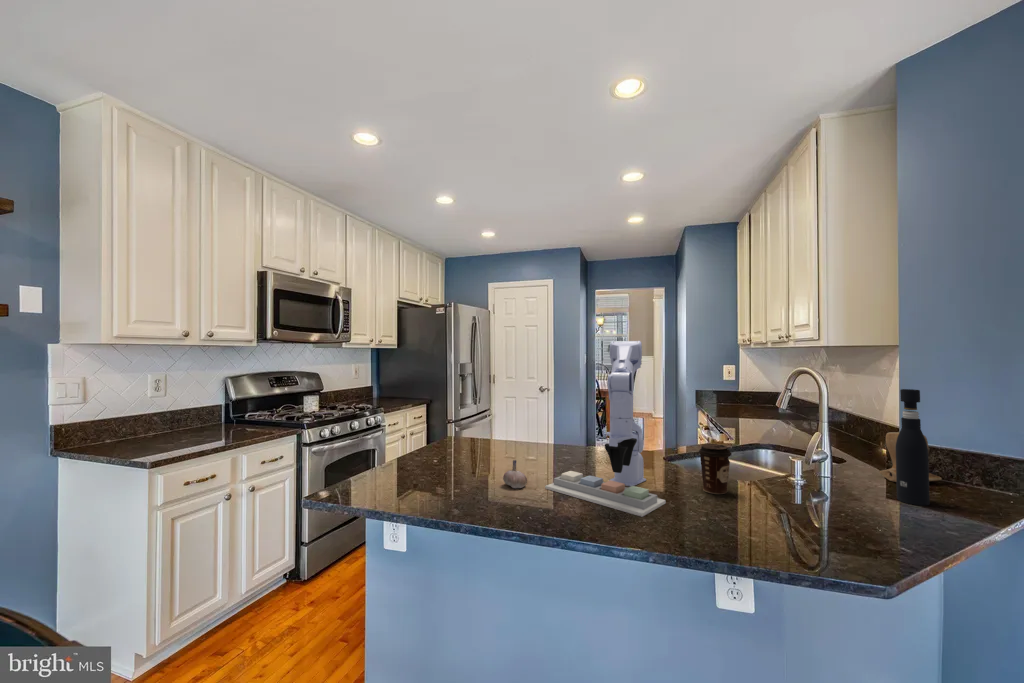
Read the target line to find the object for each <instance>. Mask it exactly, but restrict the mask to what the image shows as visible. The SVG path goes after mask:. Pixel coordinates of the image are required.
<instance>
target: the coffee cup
mask: <svg viewBox="0 0 1024 683" xmlns="http://www.w3.org/2000/svg"><path fill="white" fill-rule="evenodd" d="M698 454H699V456H700V467H701V478H702V490H703V492H706V493H709V494H714V495H723V494H727V493H728V482H729V476H730V465H731V461H730V459H729V457H731V456H732V452H731V450H730V449H729V447H728V446H726V445H724V444H717V443H716V444H715V443H706V444H702V445H701V448H700V449H699V450H698Z"/></svg>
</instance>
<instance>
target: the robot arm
mask: <svg viewBox="0 0 1024 683" xmlns="http://www.w3.org/2000/svg"><path fill="white" fill-rule="evenodd" d="M642 348H643V346H642V341H641V340H624V341H623V340H619V341H617V340H611V341H610V343H609V358H610V359H609V360H610V364H611V371H610V373H608V374H607V390H608V400H609V431H607V432H605V436H608V437H609V438H608V443H605V444H604V450H605V451H606V452H607V455H608V457H609V463H610V465H611V469H612V472H613V473H614V477H613V478H611V479H608V481H610V480H611V481H615V482H619V483H624V484H625V487H631V486H638V485H639V484H641V483H644V482H646V481H647V478H644V472H645V471H644V470H645V469H644V457H643V455H642V454H641V453H642V452H643V447H644V444H643V441H644V440H643V439H644V438H643V429H642V427H641V425H639V424H638V423H637V422H635V421H634V386H635V384H634V382H635V381H634V377H635V376H634V375H635V372H636V370H638V369H641V368H642V367H641V366H642V361H643V360H642V359H643V357H642V356H643V350H642Z"/></svg>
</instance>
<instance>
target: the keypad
mask: <svg viewBox="0 0 1024 683" xmlns="http://www.w3.org/2000/svg"><path fill="white" fill-rule="evenodd" d="M584 477H585V476H583V478H584ZM605 482H606V481H603V483H605ZM627 488H628V487H627V486H625V489H627ZM544 489H546V490H549V491H553V492H556V493H560V494H563V495H567V496H570V497H574V498H577V499H580V500H583V501H587V502H589V503H594V504H597V505H600V506H604V507H608V508H611V509H615V510H618V511H620V512H625V513H627V514H631V515H635V516H638V517H642V518H643V517H645V516H646V515H648V514H650V513H651V512H653V511H655V510H656V509H659V508H660V507H662V506H664V505H665V504H667V503H666V499H663V498H660V497H658V495H657V494H655V493H650V492H649V497H647V498H645V499H643V500H639V499H635V498H632V497H628V496H624V491H623V492H621V493H618V494H616V493H613V492H609V491H605V490H601V486H599V487H597V488H593V487H590V486H586V485H582V484H580V481H578V482H575V483H574V482H571V481H567V480H563V479H561V475H560V476H556V477H554V478H553V482H552V483H550V484H546V485H545V488H544Z"/></svg>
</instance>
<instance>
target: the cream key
mask: <svg viewBox="0 0 1024 683" xmlns="http://www.w3.org/2000/svg"><path fill="white" fill-rule="evenodd" d="M560 476H561V479H563V480H567V481H571V482H574V483H575V482H578V481H580V479H581V478H583V477H584V474H583V473H580V472H578V471H573V470H569V471H565V472H563V473H561V474H560Z"/></svg>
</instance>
